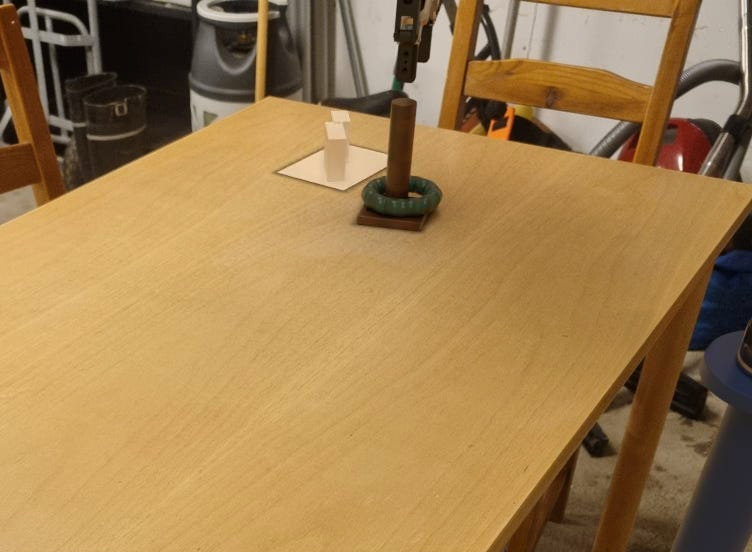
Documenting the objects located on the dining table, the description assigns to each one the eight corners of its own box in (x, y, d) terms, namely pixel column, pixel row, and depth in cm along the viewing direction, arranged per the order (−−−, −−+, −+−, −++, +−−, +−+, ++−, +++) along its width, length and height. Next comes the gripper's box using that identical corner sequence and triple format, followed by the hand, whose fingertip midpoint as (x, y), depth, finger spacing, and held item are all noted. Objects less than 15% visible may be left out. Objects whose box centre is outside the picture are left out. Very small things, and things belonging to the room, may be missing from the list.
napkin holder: (344, 190, 124) (346, 144, 120) (276, 172, 129) (276, 127, 125) (402, 157, 132) (406, 113, 128) (336, 141, 137) (338, 98, 133)
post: (431, 206, 120) (444, 94, 111) (419, 231, 115) (431, 115, 105) (371, 200, 122) (378, 88, 112) (356, 224, 116) (363, 109, 107)
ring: (447, 193, 120) (449, 177, 119) (431, 223, 114) (433, 206, 112) (372, 184, 123) (373, 168, 121) (352, 213, 116) (353, 197, 115)
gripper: (452, -90, 93) (433, 92, 104) (474, -112, 102) (454, 57, 114) (378, -93, 94) (368, 86, 106) (406, -114, 104) (394, 53, 115)
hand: (412, 71), depth 110 cm, fingers open, 8 cm apart
